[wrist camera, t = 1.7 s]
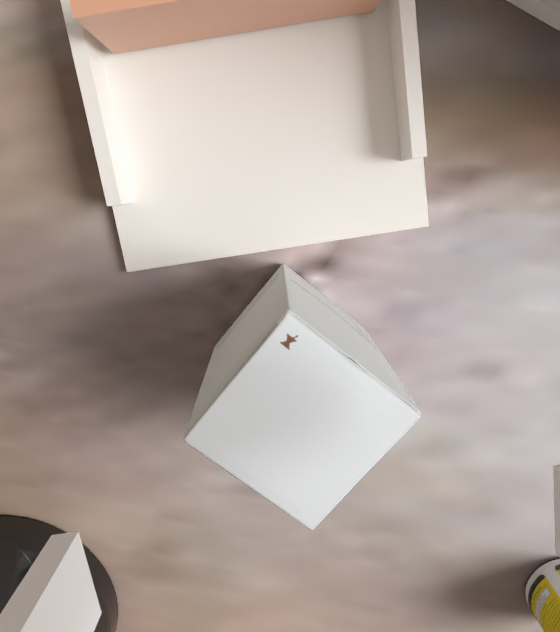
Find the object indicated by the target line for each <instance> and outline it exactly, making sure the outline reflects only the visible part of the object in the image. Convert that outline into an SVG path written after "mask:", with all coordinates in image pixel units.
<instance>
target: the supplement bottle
mask: <svg viewBox="0 0 560 632" xmlns="http://www.w3.org/2000/svg"><path fill="white" fill-rule="evenodd" d="M525 594H526V600H527V603H528V606H529V608H530V609H531V611H532V613H533V614H534V616H535V618H536V619H537V621H538V622H539V624H540V626H541V627H542V629H543V631H544V632H560V559H556V560H553V561H550V562H548V563H546V564H544V565H542V566H541V567H539V568H538V569H537V570H536V571H535V572H534V573H533V574H532V575H531V577H530V578H529V580H528V582H527V585H526V591H525Z"/></svg>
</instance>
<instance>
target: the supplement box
mask: <svg viewBox="0 0 560 632" xmlns="http://www.w3.org/2000/svg"><path fill="white" fill-rule="evenodd" d="M420 418H421V413H420V411H419V409H418V408H417V406H416V404H415V403H414V401H413V399H412V398H411V396H410V395H409V393H408V392H407V390H406V389H405V387H404V386H403V384H402V383H401V381H400V380H399V378H398V377H397V376H396V374H395V373H394V371H393V370H392V368H391V367H390V365H389V364H388V362H387V361H386V359H385V358H384V356H383V355H382V354H381V352H380V351H379V349H378V348H377V346H376V345H375V343H374V342H373V340H372V339H371V337H370V335H369V334H368V332H367V331H366V330H365V329H364V328H363V327H362V326H361V325H360V324H359V323H357V322H356V321H355V320H354V319H353V318H351V317H350V316H349V315H348V314H347V313H345V312H344V311H343V310H342V309H340V308H339V307H338V306H337V305H336V304H334V303H333V302H332V301H331V300H329V299H328V298H327V297H326V296H324V295H323V294H322V293H320V292H319V291H318V290H317V289H315V288H314V287H313V286H312V285H310V284H309V283H308V282H307V281H305V280H304V279H303V278H301V277H300V276H299V275H298V274H296V273H295V272H294V271H293V270H291V269H290V268H289V267H287V266H286V265H285V264H281V266H280V267H279V268H278V269H277V271H276V272H275V273H274V274H273V275H272V277H271V278H270V279H269V280H268V282H267V283H266V284H265V285H264V286H263V288H262V289H261V290H260V291H259V292H258V294H257V295H256V296H255V297H254V298H253V300H252V301H251V302H250V303H249V304H248V306H247V307H246V308H245V309H244V310H243V312H242V313H241V314H240V315H239V317H238V318H237V319H236V320H235V322H234V323H233V324H232V325H231V326H230V328H229V329H228V330H227V331H226V333H225V334H224V335H223V336H222V338H221V339H220V340H219V341H218V343H217V344H216V345H215V347H214V349H213V352H212V356H211V358H210V361H209V364H208V367H207V370H206V373H205V376H204V379H203V382H202V385H201V388H200V390H199V393H198V396H197V399H196V402H195V405H194V408H193V411H192V414H191V417H190V420H189V423H188V427H187V429H186V432H185V435H184V442H186V443H187V444H188V445H190V446H191V447H193V448H194V449H196V450H197V451H199V452H200V453H201V454H203V455H204V456H206V457H207V458H209V459H210V460H211V461H213V462H214V463H216V464H217V465H219V466H220V467H221V468H223V469H224V470H226V471H227V472H229V473H230V474H231V475H233V476H234V477H236V478H237V479H239V480H240V481H241V482H243V483H244V484H246V485H247V486H249V487H250V488H251V489H253V490H254V491H256V492H257V493H259V494H260V495H262V496H263V497H264V498H266V499H267V500H269V501H270V502H272V503H273V504H274V505H276V506H277V507H279V508H280V509H282V510H283V511H284V512H286V513H287V514H289V515H290V516H292V517H293V518H294V519H296V520H297V521H299V522H300V523H302V524H303V525H304V526H306V527H307V528H308V529H310V530H313V529H314V528H315V527H316V526H317V525H318V524H319V523H320V522H321V521H322V520H323V519H324V518H325V517H326V515H327V514H328V513H329V512H330V511H331V510H332V509H333V508H334V507H335V506H336V505H337V504H338V503H339V502H340V500H341V499H342V498H343V497H344V496H345V495H346V494H347V493H348V492H349V491H350V490H351V489H352V488H353V487H354V486H355V484H356V483H357V482H358V481H359V480H360V479H361V478H362V477H363V476H364V475H365V474H366V473H367V472H368V471H369V470H370V469H371V468H372V467H373V466H374V465H375V464H376V463H377V462H378V461H379V460H380V459H381V458H382V457H383V456H384V455H385V454H386V453H387V452H388V451H389V450H390V449H391V448H392V447H393V446H394V445H395V444H396V443H397V442H398V440H399V439H400V438H401V437H402V436H403V435H404V434H405V433H406V432H407V431H408V430H409V429H410V428H411V427H412V426H413V425H414V424H415V423H416V422H417V421H418V420H419V419H420Z"/></svg>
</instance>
